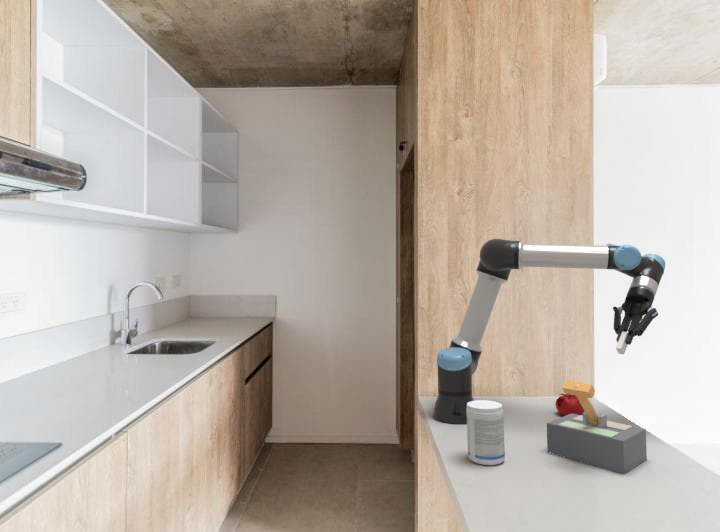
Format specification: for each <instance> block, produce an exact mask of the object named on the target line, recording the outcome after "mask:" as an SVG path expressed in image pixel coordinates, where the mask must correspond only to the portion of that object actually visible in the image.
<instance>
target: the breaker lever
mask: <svg viewBox="0 0 720 532" xmlns="http://www.w3.org/2000/svg"><path fill="white" fill-rule="evenodd" d="M561 388H562V390H563V393H564V392H565V393H564V394H570V395H576V396H577V398H578V400H579V402H580V404H581V405H582V407H583V409H584V411H585V413H586V415H587V417H588V418H589V420H590V422H591V423H592V424H593V425H598V424H599V415H598V414H597V412H596V410H595V407H594V406H593V405H592V402H591V400H590V399H593V397H594V394H595V392H596V390H595V388H594V387H593V385H592V384H589V383H582V382H576V381H570V380H564V383H563V384H562V387H561Z"/></svg>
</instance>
